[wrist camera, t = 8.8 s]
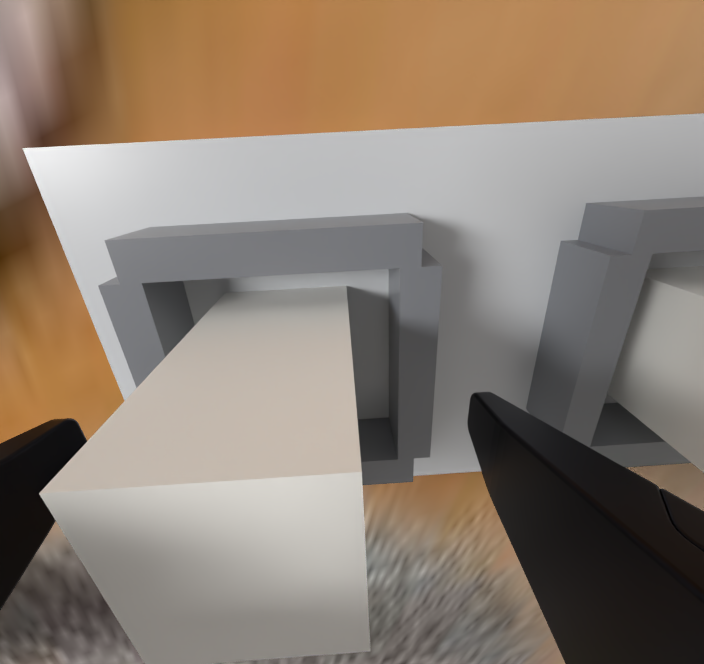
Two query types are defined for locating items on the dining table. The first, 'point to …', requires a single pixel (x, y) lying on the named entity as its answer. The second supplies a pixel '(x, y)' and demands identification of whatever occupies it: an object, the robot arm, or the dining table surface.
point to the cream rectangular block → (231, 490)
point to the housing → (423, 269)
